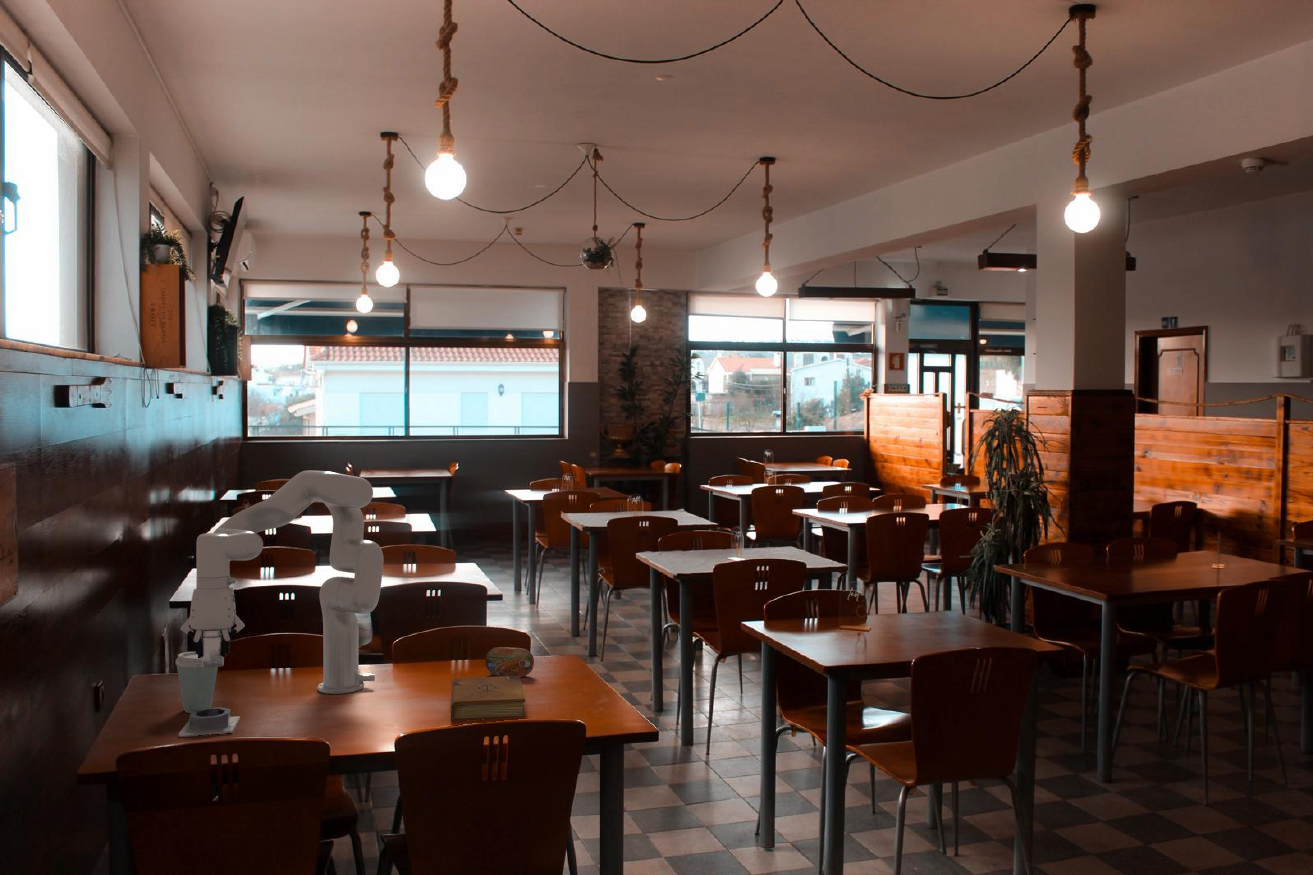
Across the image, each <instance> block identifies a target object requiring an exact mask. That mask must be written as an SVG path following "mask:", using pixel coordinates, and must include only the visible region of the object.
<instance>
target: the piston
mask: <svg viewBox="0 0 1313 875" xmlns="http://www.w3.org/2000/svg"><path fill="white" fill-rule="evenodd" d="M201 638H202V667H203V668H217V667H218V668H220V667H221V668H222V667H224V665H225V664H224V662H225V660H224V659H225V657H222V642H223V641H224V636H223V632H222V630H202V636H201Z"/></svg>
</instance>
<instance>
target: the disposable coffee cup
mask: <svg viewBox="0 0 1313 875" xmlns="http://www.w3.org/2000/svg"><path fill="white" fill-rule="evenodd" d="M175 665H176V669H177V676H178V682H179V688H180V695H181V696H180V697H181V702H182V707H183V709H184V711H185V713H190V714H191V713H192V712H193V711H197V710H201V709H204V708H212V705H213V700H214V694H215V687H216V682H217V675H218V670H219V667H217V668H203V667H202V657H201V658H198V654H195V651H185V652H181V653H179V654H177V658H176V659H175Z"/></svg>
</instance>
